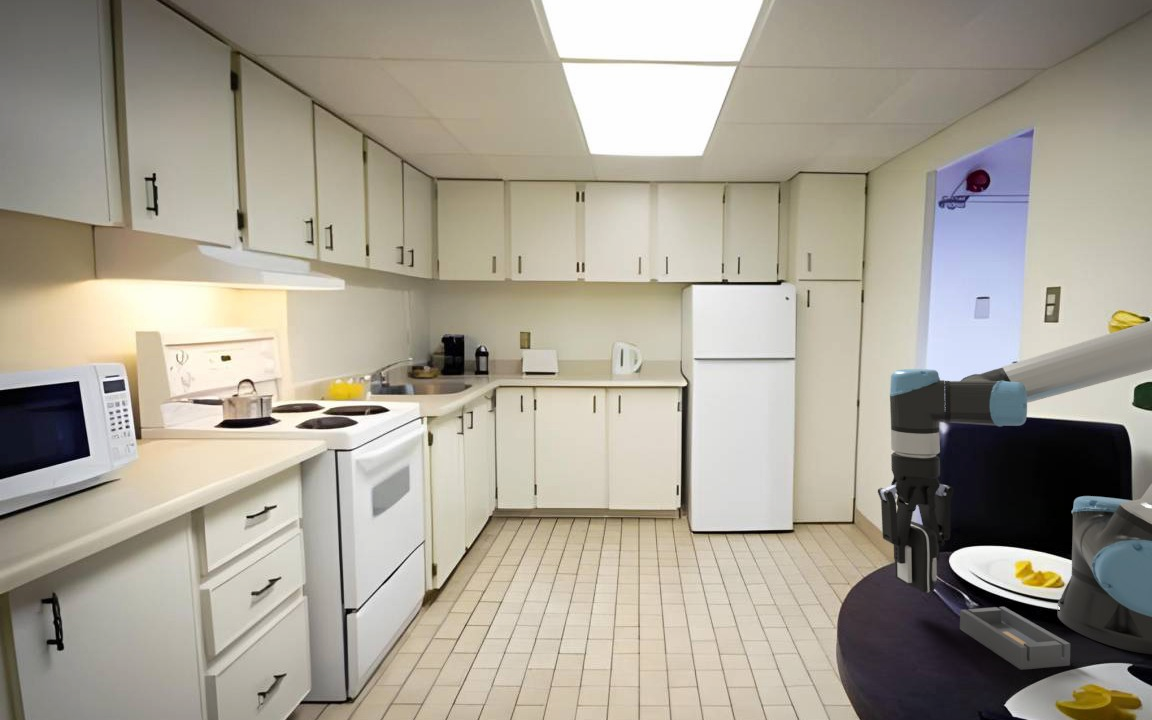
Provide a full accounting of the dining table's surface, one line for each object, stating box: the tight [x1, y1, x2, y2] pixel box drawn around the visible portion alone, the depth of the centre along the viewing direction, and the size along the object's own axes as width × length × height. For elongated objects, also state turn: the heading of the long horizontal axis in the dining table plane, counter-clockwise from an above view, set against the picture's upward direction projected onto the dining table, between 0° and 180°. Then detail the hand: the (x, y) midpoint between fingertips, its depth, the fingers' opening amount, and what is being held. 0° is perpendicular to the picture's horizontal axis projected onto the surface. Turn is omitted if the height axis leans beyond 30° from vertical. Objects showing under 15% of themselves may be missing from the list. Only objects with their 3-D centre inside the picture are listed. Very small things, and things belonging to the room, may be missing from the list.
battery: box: [894, 520, 938, 593], centre depth 98 cm, size 7×4×11 cm, turn 14°
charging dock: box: [959, 606, 1071, 671], centre depth 88 cm, size 8×12×4 cm
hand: (916, 578), depth 98 cm, fingers closed on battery, 4 cm apart
